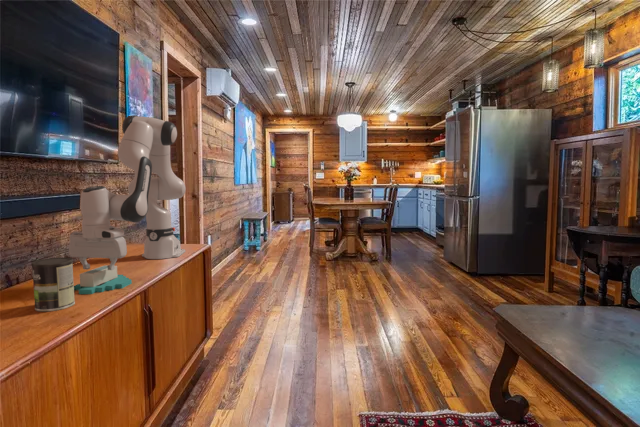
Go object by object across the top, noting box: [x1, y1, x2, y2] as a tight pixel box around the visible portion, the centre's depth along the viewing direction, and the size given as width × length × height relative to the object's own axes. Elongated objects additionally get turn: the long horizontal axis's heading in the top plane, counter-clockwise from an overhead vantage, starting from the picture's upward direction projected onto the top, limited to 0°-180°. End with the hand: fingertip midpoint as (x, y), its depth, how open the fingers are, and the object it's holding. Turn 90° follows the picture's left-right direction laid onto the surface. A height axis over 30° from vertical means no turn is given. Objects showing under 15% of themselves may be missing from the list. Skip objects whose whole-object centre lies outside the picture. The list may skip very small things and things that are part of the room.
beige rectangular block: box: [79, 264, 119, 287], centre depth 139 cm, size 13×5×5 cm, turn 173°
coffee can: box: [30, 256, 76, 312], centre depth 117 cm, size 10×10×14 cm
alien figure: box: [74, 274, 133, 295], centre depth 139 cm, size 20×2×20 cm
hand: (98, 269), depth 139 cm, fingers open, 8 cm apart
